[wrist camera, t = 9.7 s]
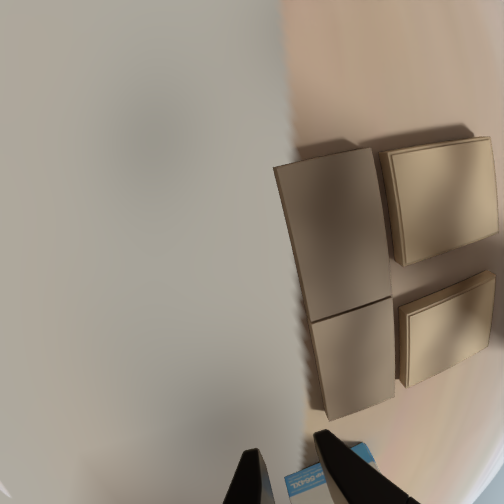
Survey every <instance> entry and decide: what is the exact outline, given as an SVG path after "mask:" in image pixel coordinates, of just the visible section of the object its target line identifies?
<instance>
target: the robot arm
mask: <svg viewBox="0 0 504 504" xmlns="http://www.w3.org/2000/svg"><path fill="white" fill-rule="evenodd" d="M313 437H314V442H315V446H316V450H317V454H318V457H319V461H320V464H321V467H322V470H323V473H324V476H325V480H326V483H327V486H328V489H329V492H330V495H331V498H332V500H333V502H334V504H420V503H419V502H418V501H416V500H415V499H414V498H412V497H409V495H408V494H407V493H405V492H404V491H403V490H401V489H400V488H399V487H397V486H396V485H395V484H394V483H392V482H391V481H390V480H388V479H387V478H386V477H385V476H383V475H382V474H381V473H380V472H378V471H377V470H376V469H375V468H373V467H372V466H371V465H370V464H368V463H367V462H366V461H365V460H363V459H362V458H361V457H360V456H359V455H357V454H356V453H355V452H354V451H353V450H351V449H350V448H349V447H348V446H347V445H345V444H344V443H343V442H342V441H341V440H340V439H338V438H337V437H336V436H335V435H334V434H333V433H331V432H330V431H329V430H327V429H325V430H321V431H318V432H315V433H314V434H313ZM408 497H409V498H408ZM223 504H275V501H274V497H273V493H272V489H271V484H270V480H269V476H268V472H267V468H266V464H265V462H264V460H263V457H262V455H261V453H260V451H259V449H258V448H254V449H249V450H245V451H244V452H243V454H242V456H241V459H240V461H239V464H238V466H237V469H236V472H235V474H234V477H233V479H232V482H231V484H230V487H229V489H228V491H227V494H226V497H225V499H224V501H223Z"/></svg>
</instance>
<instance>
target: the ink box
mask: <svg viewBox="0 0 504 504" xmlns="http://www.w3.org/2000/svg"><path fill="white" fill-rule="evenodd" d="M350 449H351V450H353V451H354V452H355V453H356V454H357V455H359V456H360V457H361V458H362V459H363V460H365V461H366V462H367V463H368V464H370V465H371V466H372V467H373V468H375V469H376V470H377V471H378V472H380V470H379V468H378V466H377V464H376V462H375V460H374V458H373V456H372V454H371V453H370V451H369V449H368V447H367V445H366V444H365V443H363V442H362V443H360V444H358V445H356V446H354V447H352V448H350ZM380 473H381V472H380ZM284 478H285V482H286V486H287V490H288V494H289V498H290V502H291V504H334V502H333V500H332V498H331V495H330V492H329V489H328V486H327V483H326V480H325V476H324V473H323V470H322V467H321V464H320V463H318V464H315V465H313V466H311V467H308V468H306V469H303V470H301V471H298V472H296V473H293V474H291V475H288V476H286V477H284Z"/></svg>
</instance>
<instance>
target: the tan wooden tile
mask: <svg viewBox="0 0 504 504" xmlns="http://www.w3.org/2000/svg"><path fill="white" fill-rule="evenodd" d="M273 170H274V175H275V178H276V182H277V187H278V191H279V195H280V199H281V203H282V207H283V211H284V216H285V220H286V224H287V228H288V233H289V237H290V241H291V246H292V250H293V255H294V259H295V264H296V268H297V273H298V277H299V282H300V287H301V291H302V296H303V301H304V305H305V310H306V314H307V320H308V325H309V330H310V335H311V340H312V345H313V350H314V355H315V360H316V365H317V371H318V376H319V381H320V387H321V392H322V398H323V403H324V409H325V413H326V415H327V418H328V420H329V421H333V420H336V419H338V418H341V417H344V416H347V415H350V414H353V413H355V412H358V411H361V410H364V409H366V408H369V407H371V406H374V405H376V404H379V403H381V402H384V401H386V400H389V399H391V398H393V397H395V340H394V316H393V299H392V297H391V296H390V295H392V286H391V274H390V264H389V255H388V246H387V238H386V230H385V223H384V216H383V209H382V203H381V197H380V191H379V185H378V180H377V174H376V169H375V164H374V159H373V154H372V149H371V148H360V149H355V150H350V151H345V152H340V153H335V154H330V155H325V156H321V157H316V158H312V159H307V160H303V161H298V162H294V163H290V164H285V165H281V166H277V167H273Z"/></svg>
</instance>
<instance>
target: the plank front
mask: <svg viewBox="0 0 504 504" xmlns="http://www.w3.org/2000/svg"><path fill="white" fill-rule="evenodd" d="M379 157H380V163H381V168H382V173H383V179H384V184H385V190H386V196H387V203H388V209H389V216H390V223H391V231H392V239H393V248H394V257H395V261H396V262H397V263H399V264H400V265H402V266H403V267H404V266H408V265H411V264H414V263H416V262H419V261H422V260H425V259H428V258H431V257H434V256H437V255H440V254H443V253H445V252H448V251H451V250H454V249H457V248H459V247H462V246H465V245H468V244H470V243H473V242H476V241H479V240H481V239H484V238H487V237H489V236H492V235H494V234H497V233H499V223H498V200H497V186H496V175H495V166H494V158H493V150H492V144H491V137H473V138H465V139H458V140H451V141H444V142H438V143H431V144H425V145H419V146H413V147H407V148H401V149H396V150H390V151H385V152H379Z"/></svg>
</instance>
